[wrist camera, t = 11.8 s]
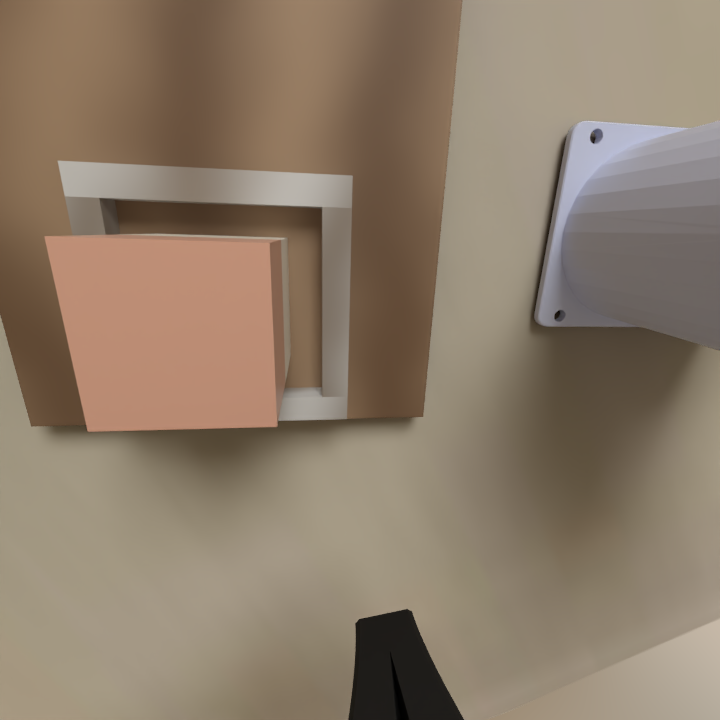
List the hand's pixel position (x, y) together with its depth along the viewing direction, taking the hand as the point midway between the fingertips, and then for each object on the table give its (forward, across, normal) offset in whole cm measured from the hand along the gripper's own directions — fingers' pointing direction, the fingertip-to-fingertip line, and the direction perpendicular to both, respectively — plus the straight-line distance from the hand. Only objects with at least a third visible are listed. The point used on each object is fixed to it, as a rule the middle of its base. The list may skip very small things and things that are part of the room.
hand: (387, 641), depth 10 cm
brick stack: (+8, +4, -8) cm, 12 cm away
